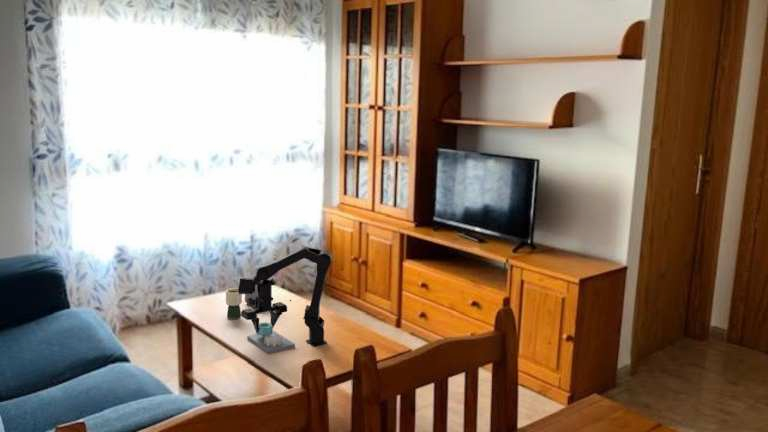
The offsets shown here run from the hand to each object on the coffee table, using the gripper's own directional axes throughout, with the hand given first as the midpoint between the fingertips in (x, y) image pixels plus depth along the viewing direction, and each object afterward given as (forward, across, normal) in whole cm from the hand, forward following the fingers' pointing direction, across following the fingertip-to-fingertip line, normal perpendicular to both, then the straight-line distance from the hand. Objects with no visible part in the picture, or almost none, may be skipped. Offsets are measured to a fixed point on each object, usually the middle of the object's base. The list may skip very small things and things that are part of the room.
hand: (264, 330), depth 270 cm
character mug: (+5, -2, -31) cm, 32 cm away
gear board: (+5, -1, +4) cm, 6 cm away
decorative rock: (+5, -18, -38) cm, 43 cm away
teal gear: (+1, 0, 0) cm, 1 cm away
